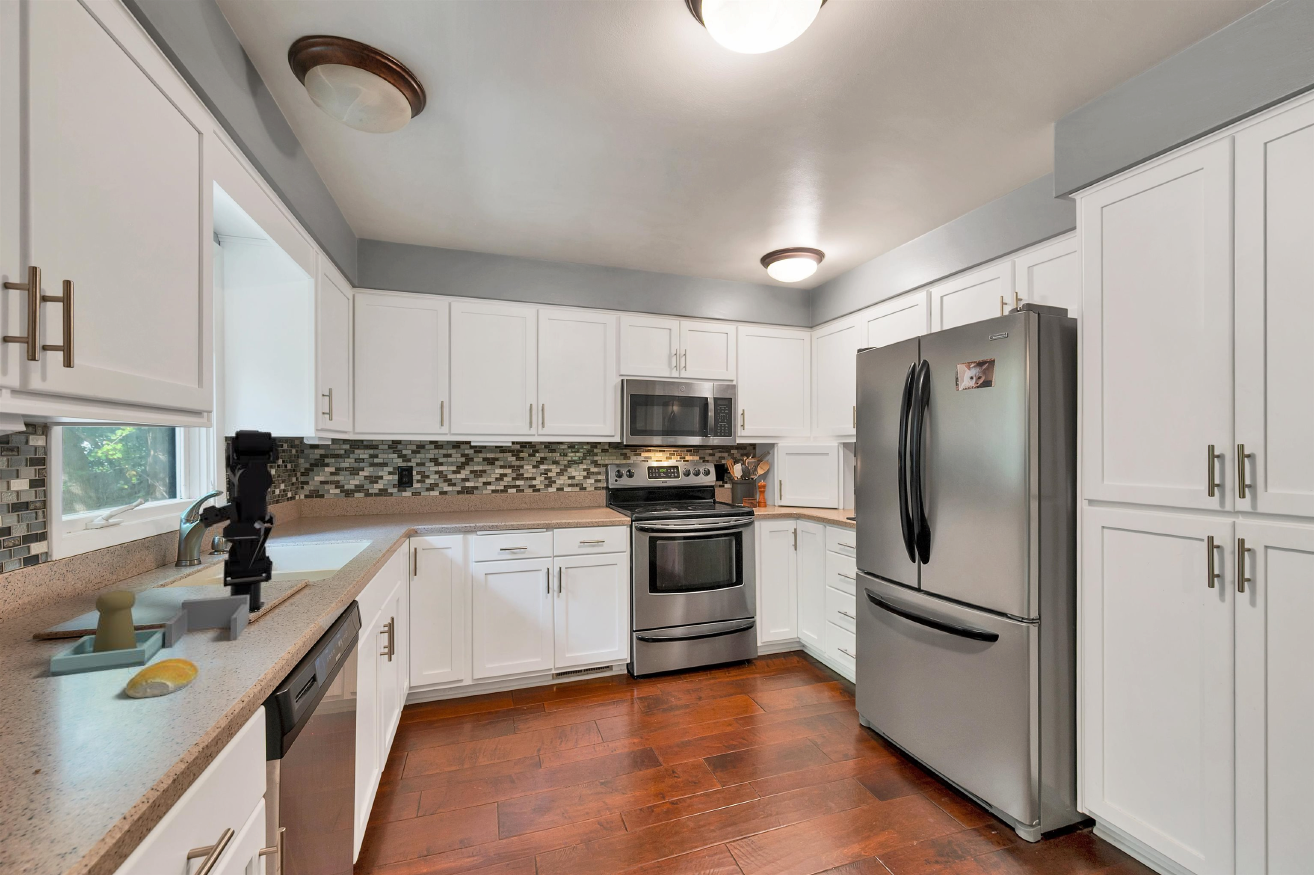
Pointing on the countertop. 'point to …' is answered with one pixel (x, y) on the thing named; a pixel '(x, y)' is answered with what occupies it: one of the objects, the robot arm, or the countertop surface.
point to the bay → (209, 617)
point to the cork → (115, 622)
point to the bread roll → (161, 678)
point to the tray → (107, 654)
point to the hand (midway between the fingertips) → (250, 564)
